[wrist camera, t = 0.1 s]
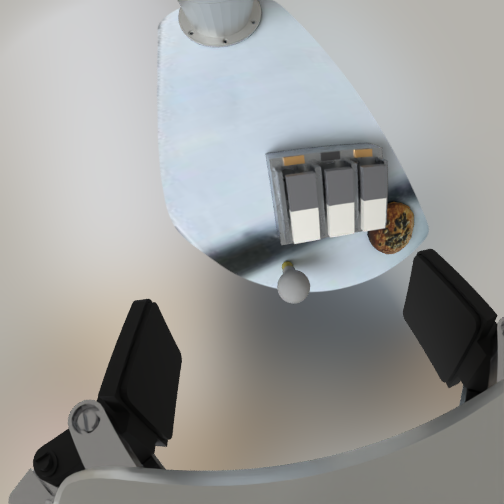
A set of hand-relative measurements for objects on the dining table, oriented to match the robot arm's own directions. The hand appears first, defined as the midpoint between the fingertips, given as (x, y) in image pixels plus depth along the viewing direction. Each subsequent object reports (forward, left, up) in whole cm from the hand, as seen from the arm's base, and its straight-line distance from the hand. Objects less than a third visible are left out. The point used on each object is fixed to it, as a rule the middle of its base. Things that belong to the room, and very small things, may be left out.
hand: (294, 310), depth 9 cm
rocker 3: (+8, +17, -29) cm, 34 cm away
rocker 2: (+8, +12, -29) cm, 32 cm away
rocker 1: (+8, +6, -29) cm, 30 cm away
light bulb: (+22, +4, -37) cm, 43 cm away
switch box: (+8, +12, -37) cm, 39 cm away
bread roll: (+18, +26, -37) cm, 49 cm away
